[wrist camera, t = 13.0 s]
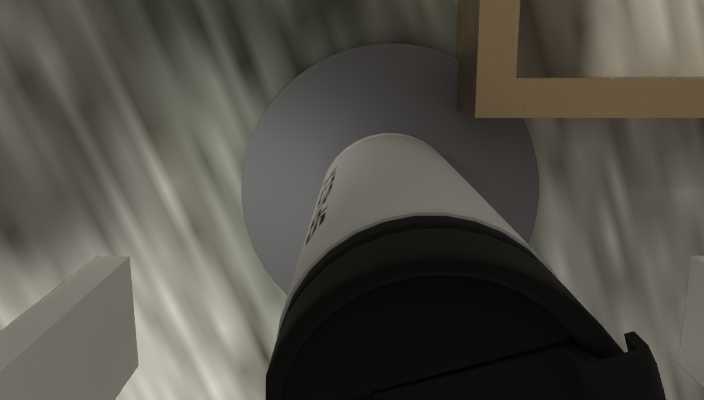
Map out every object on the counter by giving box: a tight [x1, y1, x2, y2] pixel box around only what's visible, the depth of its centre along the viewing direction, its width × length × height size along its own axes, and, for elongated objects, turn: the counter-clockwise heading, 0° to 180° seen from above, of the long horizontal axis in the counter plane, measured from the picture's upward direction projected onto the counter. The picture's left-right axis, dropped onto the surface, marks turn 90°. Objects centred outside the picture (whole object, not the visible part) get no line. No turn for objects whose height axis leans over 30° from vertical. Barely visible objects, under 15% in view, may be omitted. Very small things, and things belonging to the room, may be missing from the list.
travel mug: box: [266, 131, 666, 400], centre depth 19 cm, size 6×7×20 cm
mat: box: [242, 43, 539, 295], centre depth 29 cm, size 14×14×1 cm
